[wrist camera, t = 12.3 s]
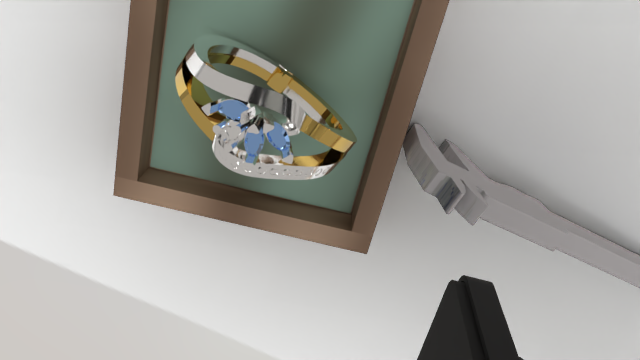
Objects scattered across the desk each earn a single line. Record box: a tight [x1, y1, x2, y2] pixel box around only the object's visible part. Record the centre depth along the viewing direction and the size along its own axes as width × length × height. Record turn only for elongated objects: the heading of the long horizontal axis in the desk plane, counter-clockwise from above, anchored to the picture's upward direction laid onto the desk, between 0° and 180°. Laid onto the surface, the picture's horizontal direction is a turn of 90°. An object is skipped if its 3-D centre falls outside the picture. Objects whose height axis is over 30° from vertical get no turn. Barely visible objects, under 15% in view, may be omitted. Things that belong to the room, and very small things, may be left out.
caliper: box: [403, 123, 640, 288], centre depth 26 cm, size 21×1×6 cm, turn 61°
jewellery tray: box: [113, 0, 449, 254], centre depth 24 cm, size 12×14×2 cm
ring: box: [175, 35, 357, 180], centre depth 21 cm, size 7×3×8 cm, turn 53°
